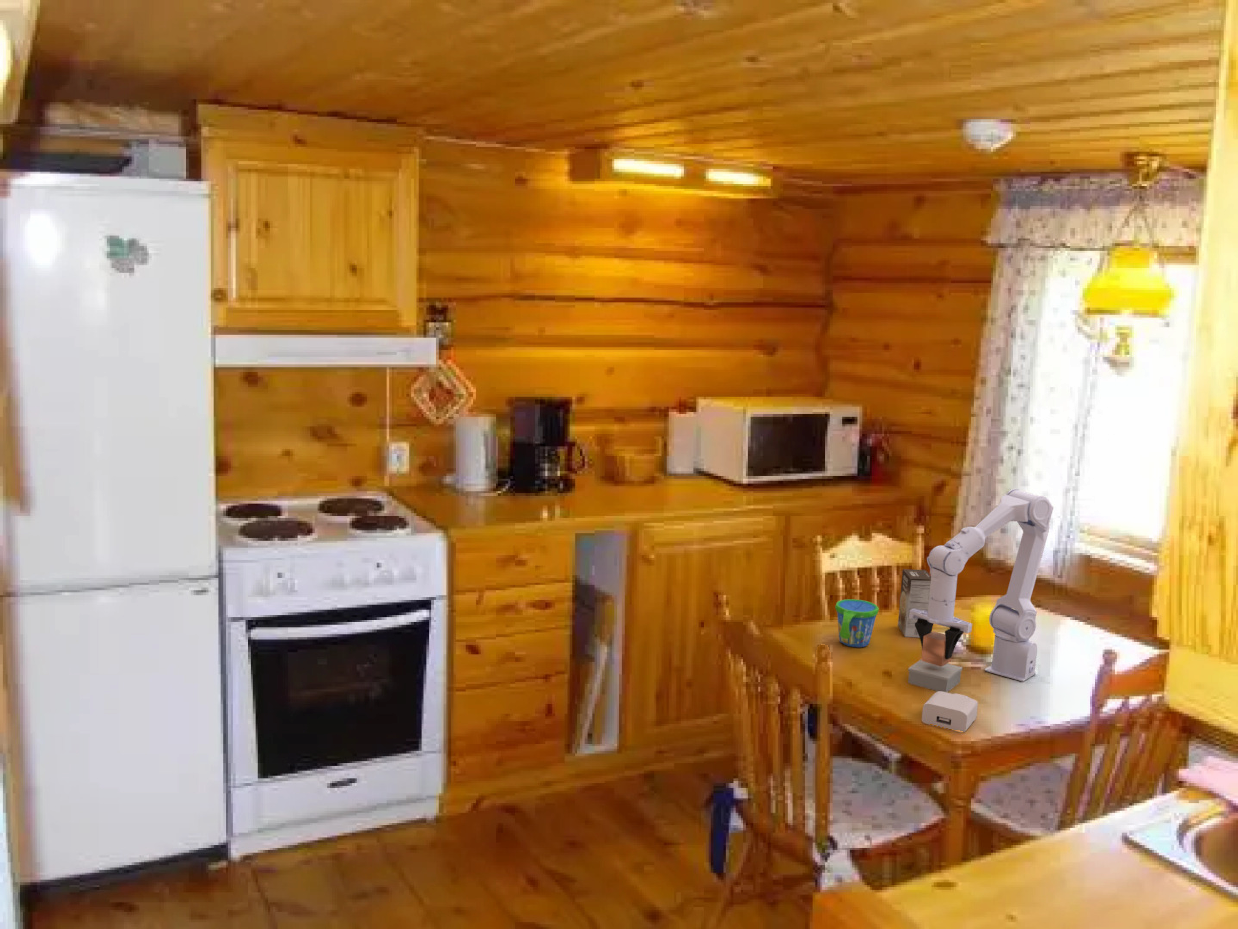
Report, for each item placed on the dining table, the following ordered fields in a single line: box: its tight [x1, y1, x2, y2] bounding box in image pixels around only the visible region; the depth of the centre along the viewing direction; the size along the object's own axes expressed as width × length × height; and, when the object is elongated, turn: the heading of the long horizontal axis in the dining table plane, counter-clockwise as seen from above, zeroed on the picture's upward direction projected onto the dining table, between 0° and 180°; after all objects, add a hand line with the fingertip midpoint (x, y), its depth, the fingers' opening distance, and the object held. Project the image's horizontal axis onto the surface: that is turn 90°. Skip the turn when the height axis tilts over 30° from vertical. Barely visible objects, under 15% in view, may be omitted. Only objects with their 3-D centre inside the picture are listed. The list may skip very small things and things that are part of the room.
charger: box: [921, 691, 979, 733], centre depth 239 cm, size 5×9×15 cm
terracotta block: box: [920, 631, 952, 667], centre depth 257 cm, size 5×5×6 cm
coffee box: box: [897, 568, 931, 639], centre depth 293 cm, size 9×6×16 cm
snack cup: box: [834, 598, 880, 648], centre depth 283 cm, size 16×10×10 cm
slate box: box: [907, 659, 963, 693], centre depth 258 cm, size 9×9×4 cm
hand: (936, 654), depth 257 cm, fingers closed on terracotta block, 5 cm apart
